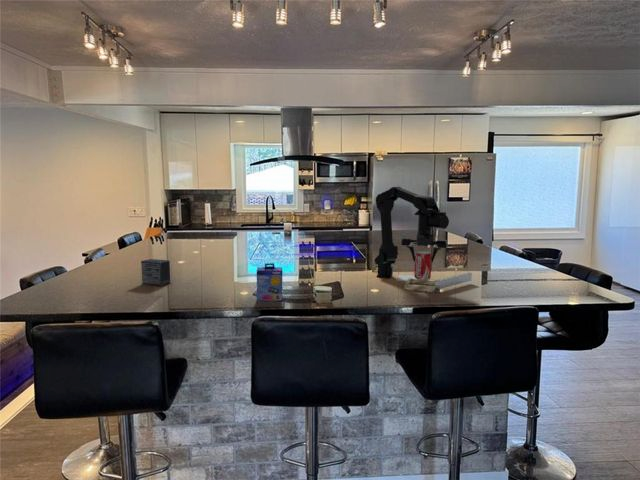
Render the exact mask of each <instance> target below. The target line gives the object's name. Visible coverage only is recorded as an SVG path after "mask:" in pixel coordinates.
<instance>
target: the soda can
mask: <svg viewBox="0 0 640 480" xmlns="http://www.w3.org/2000/svg"><path fill="white" fill-rule="evenodd" d="M431 262H432V253H431V251H428V250H419V251H416V253H415V262H414V272H413V273H414V275H413V276H415V278H416V279H417V280H421V281H426V280H431V276H432V264H433V263H431Z"/></svg>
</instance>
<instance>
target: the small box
mask: <svg viewBox="0 0 640 480" xmlns="http://www.w3.org/2000/svg"><path fill="white" fill-rule="evenodd" d="M170 262H171V261H170V260H168V259H157V258H155V259H154V258H148V259H145V260H140V263H141V264H140V265H141V285H142V286H143V285H146V286H154V287H155V286H156V287H163V286H166V285H169V284H171V269H170V268H171V267H170V266H171V265H170Z"/></svg>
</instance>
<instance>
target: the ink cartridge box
mask: <svg viewBox="0 0 640 480" xmlns="http://www.w3.org/2000/svg"><path fill="white" fill-rule="evenodd" d="M282 300H283V267H282V266H281V267H280V266H275V263H274V262H272V263H270V262H269V263H264V267H263V266H261V267H257V268H256V301H257V302H259V301H260V302H261V301H263V302H265V301H267V302H269V301H270V302H272V301H273V302H274V301H276V302H277V301H282Z"/></svg>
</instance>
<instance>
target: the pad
mask: <svg viewBox="0 0 640 480" xmlns="http://www.w3.org/2000/svg"><path fill="white" fill-rule="evenodd" d="M408 278H415V276H414V275H409V274H398V276H397V277H396V278H395V281H397V282H405V281H407V280H408ZM415 279H416V278H415Z"/></svg>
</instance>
